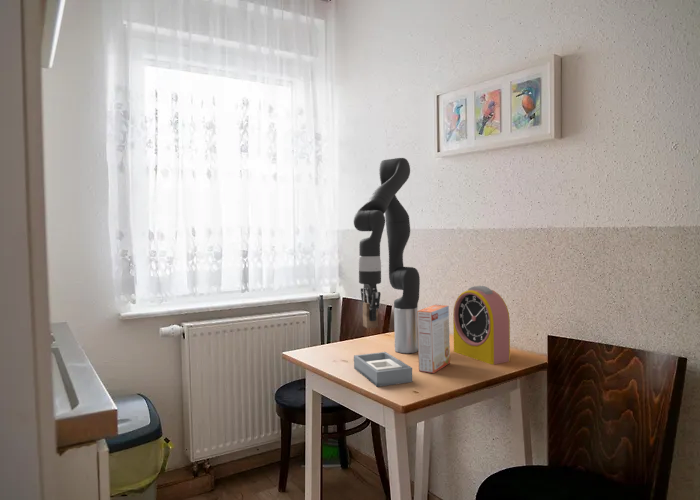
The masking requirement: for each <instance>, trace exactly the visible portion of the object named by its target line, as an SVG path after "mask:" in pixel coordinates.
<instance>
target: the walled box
mask: <svg viewBox="0 0 700 500" xmlns="http://www.w3.org/2000/svg"><path fill="white" fill-rule="evenodd" d="M353 369H354V370H356V371H357V372H358V373H360V374H361V375H362V376H363V377H364V378H366V379H367V380H368V381H369V382H370V383H372V384H373V385H374V386H375V387H377V388H379V387H386V386H393V385H400V384H408V383H413V367H411V366H410V365H408V364H406V363H405V362H404V361H402V360H400V359H398V358H396V357H395V356H393V355H391V354H390V353H388V352H386V351H382V352H373V353H372V352H371V353H366V354H365V353H364V354H356V355H353Z"/></svg>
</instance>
